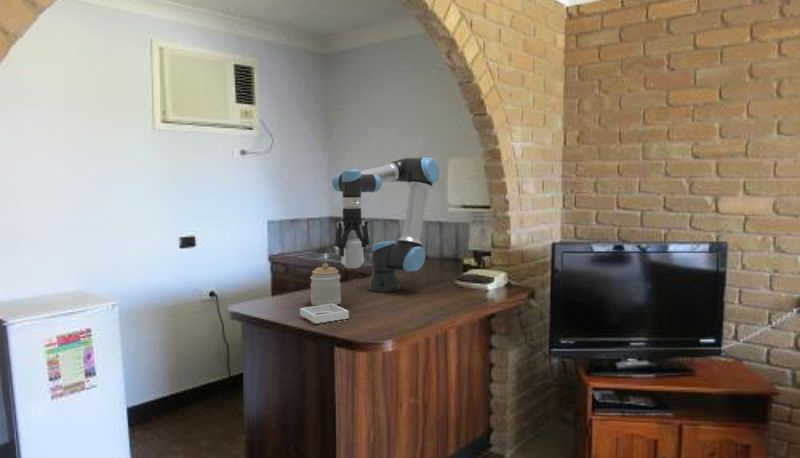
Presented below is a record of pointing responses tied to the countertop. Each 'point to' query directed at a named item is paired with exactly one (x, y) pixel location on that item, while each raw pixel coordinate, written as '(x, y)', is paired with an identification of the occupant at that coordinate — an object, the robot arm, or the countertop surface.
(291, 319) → the countertop surface
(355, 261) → the can
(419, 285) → the countertop surface
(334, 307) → the tray
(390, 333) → the countertop surface
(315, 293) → the jar
